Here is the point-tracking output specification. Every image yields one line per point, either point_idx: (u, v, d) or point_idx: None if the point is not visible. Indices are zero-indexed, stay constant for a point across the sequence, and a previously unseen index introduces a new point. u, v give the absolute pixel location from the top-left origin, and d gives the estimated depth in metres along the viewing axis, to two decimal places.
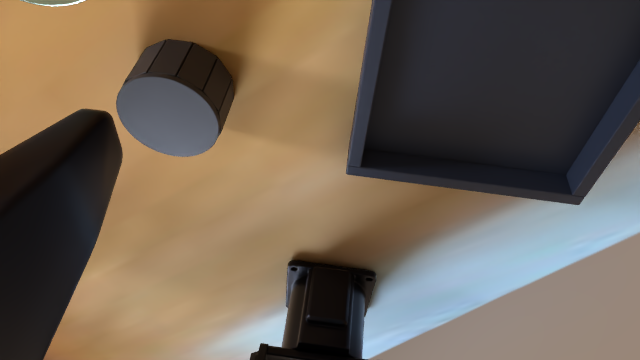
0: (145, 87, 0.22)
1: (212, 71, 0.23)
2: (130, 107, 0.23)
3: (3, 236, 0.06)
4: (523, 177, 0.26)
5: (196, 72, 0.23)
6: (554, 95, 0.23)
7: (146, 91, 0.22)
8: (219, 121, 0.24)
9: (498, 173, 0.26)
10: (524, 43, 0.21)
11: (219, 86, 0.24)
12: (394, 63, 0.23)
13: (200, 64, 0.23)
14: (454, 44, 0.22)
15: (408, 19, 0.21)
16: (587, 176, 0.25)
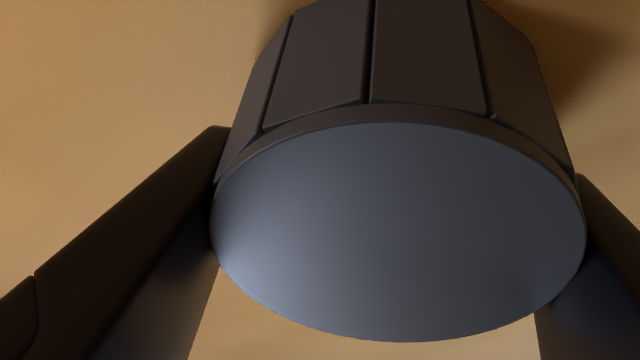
0: (346, 161, 0.05)
1: (546, 91, 0.07)
2: (263, 222, 0.06)
3: (173, 259, 0.06)
4: None
5: (526, 96, 0.06)
6: None
7: (344, 175, 0.06)
8: None
9: None
10: None
11: None
12: None
13: (517, 65, 0.06)
14: None
15: None
16: None
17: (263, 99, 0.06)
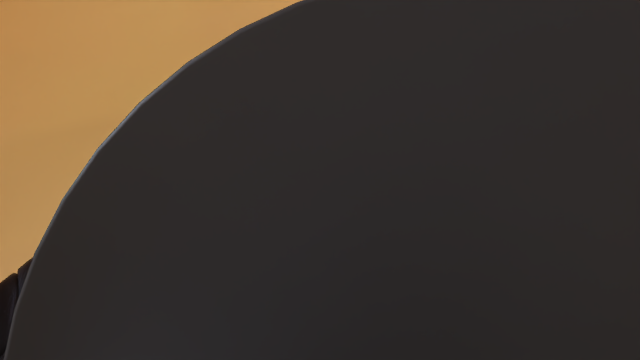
0: (479, 74, 0.02)
1: None
2: (206, 230, 0.03)
3: None
4: None
5: None
6: None
7: (460, 115, 0.02)
8: None
9: None
10: None
11: None
12: None
13: None
14: None
15: None
16: None
17: None
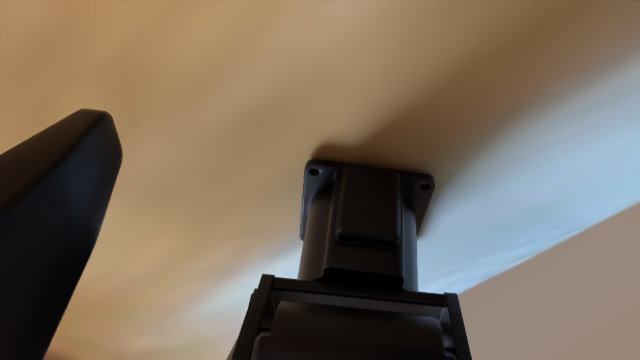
0: None
1: None
2: None
3: (3, 236, 0.06)
4: None
5: None
6: None
7: None
8: None
9: None
10: None
11: None
12: None
13: None
14: None
15: None
16: None
17: None
